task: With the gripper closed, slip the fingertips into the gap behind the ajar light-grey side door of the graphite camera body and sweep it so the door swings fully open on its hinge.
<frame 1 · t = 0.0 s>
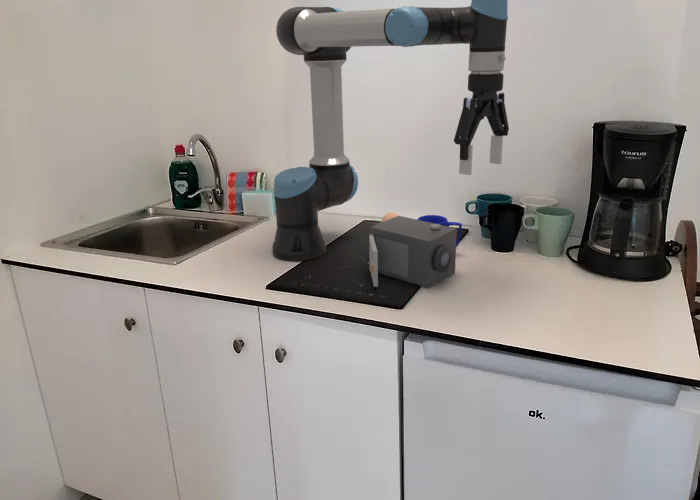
hand: (480, 168, 132), 28 cm above the worktop, fingers open, 13 cm apart
egg: (391, 237, 174), on the worktop
door: (372, 260, 141), point 6 cm above the worktop, hinge at 45.0°
mug: (438, 254, 159), on the worktop
camera body: (412, 271, 148), on the worktop
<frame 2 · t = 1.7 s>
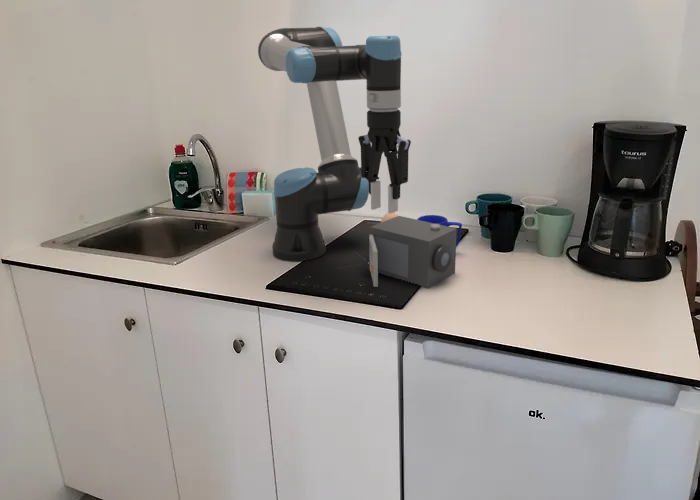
hand: (384, 209, 136), 19 cm above the worktop, fingers open, 4 cm apart
nothing on the worktop moved.
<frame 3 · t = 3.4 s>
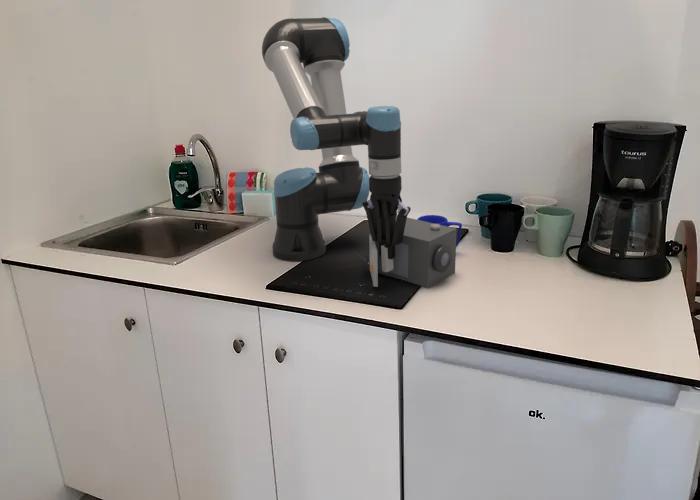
hand: (387, 269, 140), 3 cm above the worktop, fingers closed
door: (372, 260, 141), point 6 cm above the worktop, hinge at 45.2°, touching gripper
everything else where it was.
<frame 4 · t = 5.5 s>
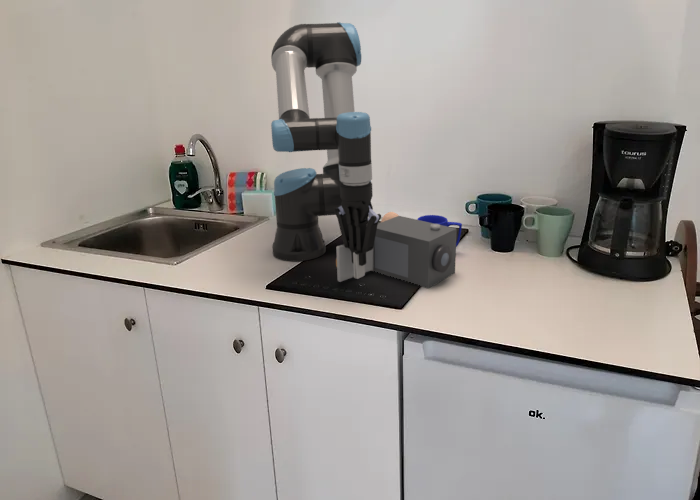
hand: (359, 276, 139), 3 cm above the worktop, fingers closed
door: (355, 257, 143), point 6 cm above the worktop, hinge at 96.3°, touching gripper, hand
everything else where it was.
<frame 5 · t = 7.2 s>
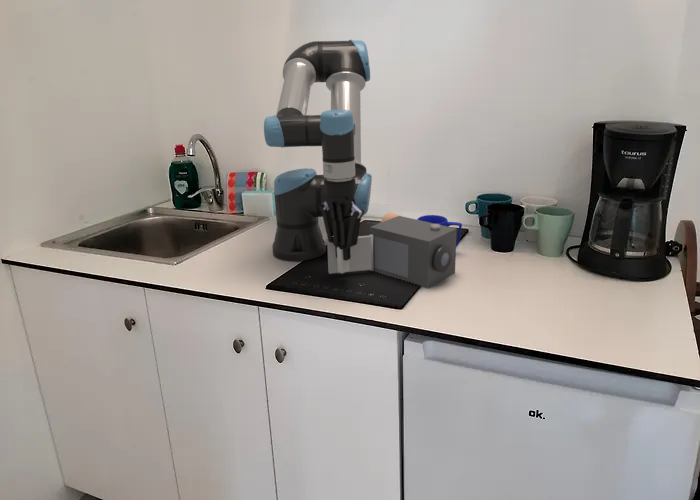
hand: (343, 271, 142), 3 cm above the worktop, fingers closed
door: (350, 254, 146), point 6 cm above the worktop, hinge at 127.8°, touching hand
everything else where it was.
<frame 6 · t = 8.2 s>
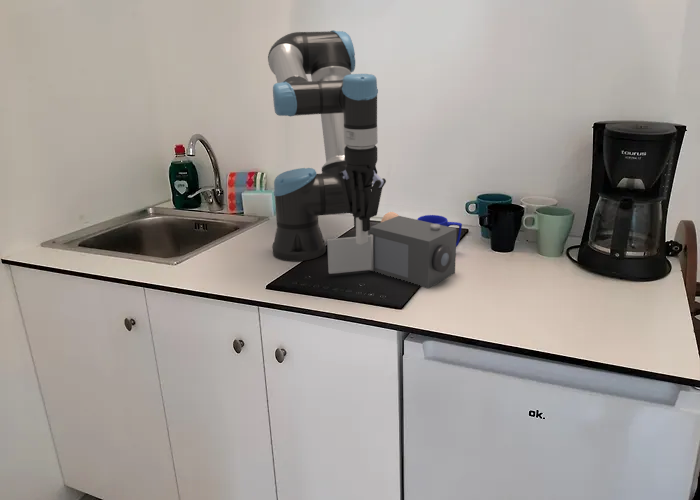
hand: (362, 242, 139), 11 cm above the worktop, fingers closed
door: (350, 254, 146), point 6 cm above the worktop, hinge at 127.5°
everything else where it was.
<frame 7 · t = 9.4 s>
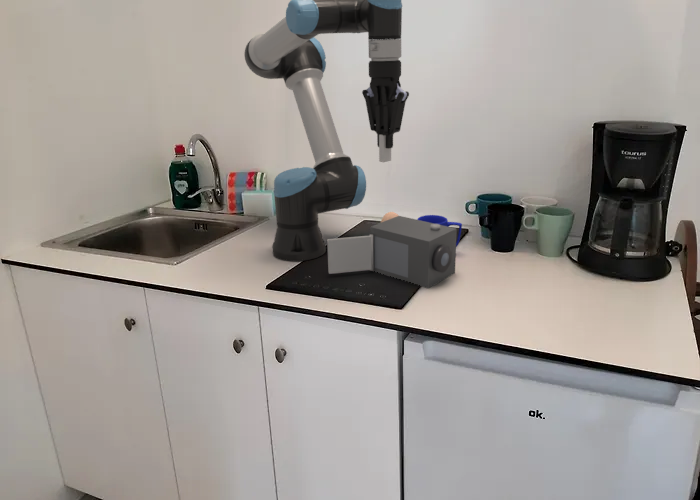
hand: (385, 160, 140), 29 cm above the worktop, fingers closed
nothing on the worktop moved.
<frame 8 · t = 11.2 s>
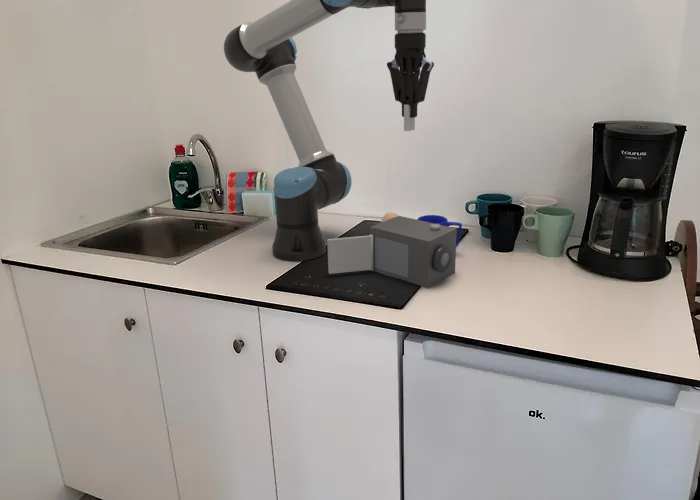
hand: (409, 130, 147), 34 cm above the worktop, fingers closed
nothing on the worktop moved.
at the end: door at +128° (first picture: +45°) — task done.
